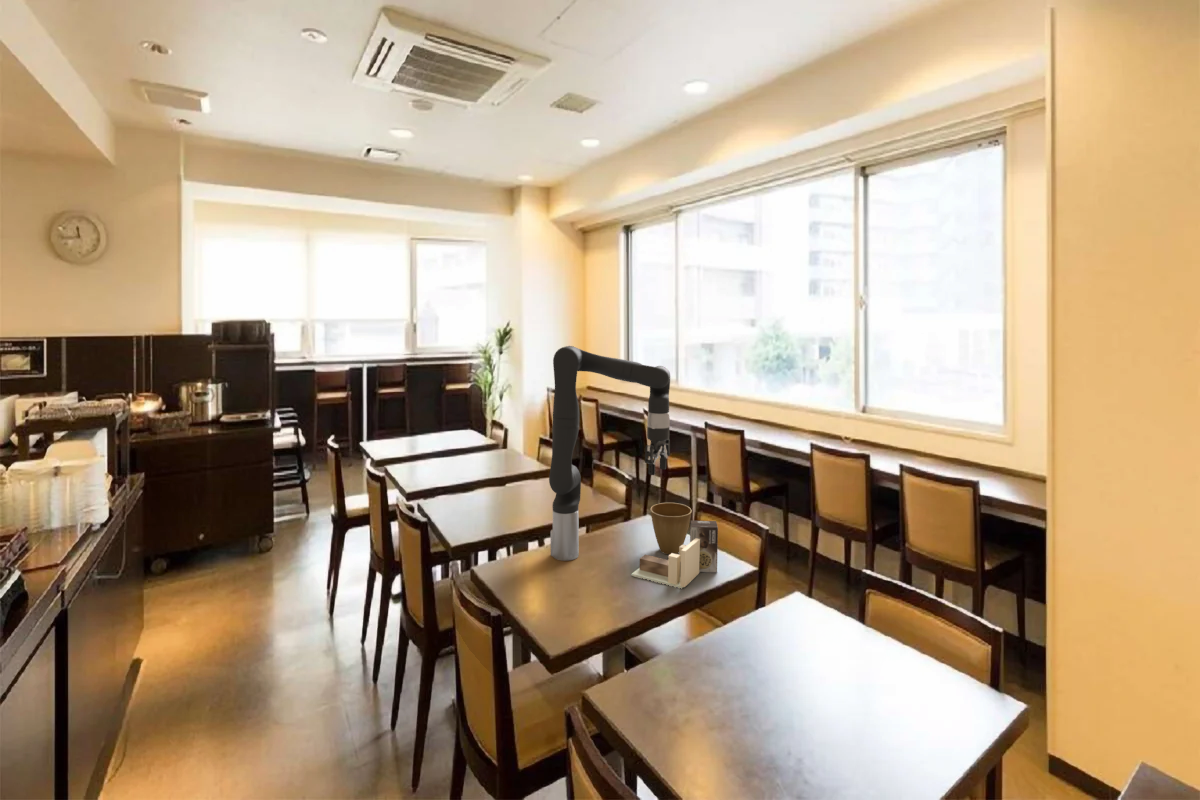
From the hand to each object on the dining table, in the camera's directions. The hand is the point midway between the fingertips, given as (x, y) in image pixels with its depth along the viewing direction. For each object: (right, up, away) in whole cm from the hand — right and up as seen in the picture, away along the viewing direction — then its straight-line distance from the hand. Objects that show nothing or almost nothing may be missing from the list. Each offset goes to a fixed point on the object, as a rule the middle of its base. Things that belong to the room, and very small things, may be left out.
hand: (657, 471), depth 204 cm
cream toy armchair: (+2, -34, -5) cm, 34 cm away
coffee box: (+16, -33, 0) cm, 37 cm away
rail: (+1, -33, -5) cm, 33 cm away
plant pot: (+6, -31, +15) cm, 35 cm away
